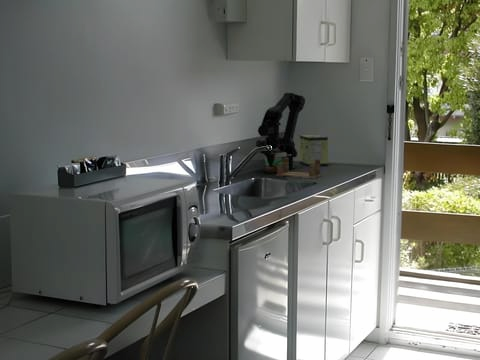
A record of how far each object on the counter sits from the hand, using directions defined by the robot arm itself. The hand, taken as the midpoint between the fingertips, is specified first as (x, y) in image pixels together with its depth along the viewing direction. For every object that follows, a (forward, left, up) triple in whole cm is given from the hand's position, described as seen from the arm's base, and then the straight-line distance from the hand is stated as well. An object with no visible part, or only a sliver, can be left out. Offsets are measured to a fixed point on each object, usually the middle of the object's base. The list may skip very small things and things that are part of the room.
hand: (273, 166), depth 365 cm
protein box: (-35, +7, -3) cm, 36 cm away
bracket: (+7, +17, -3) cm, 19 cm away
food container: (0, 0, -3) cm, 3 cm away
